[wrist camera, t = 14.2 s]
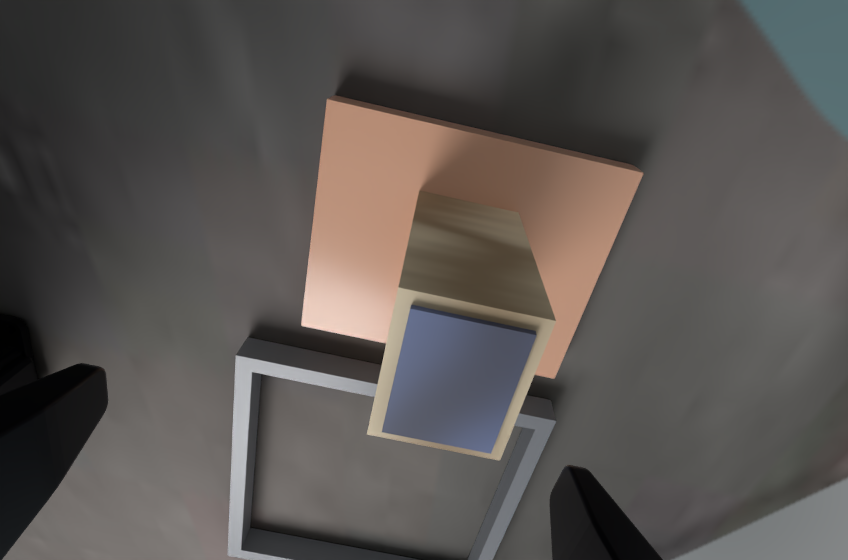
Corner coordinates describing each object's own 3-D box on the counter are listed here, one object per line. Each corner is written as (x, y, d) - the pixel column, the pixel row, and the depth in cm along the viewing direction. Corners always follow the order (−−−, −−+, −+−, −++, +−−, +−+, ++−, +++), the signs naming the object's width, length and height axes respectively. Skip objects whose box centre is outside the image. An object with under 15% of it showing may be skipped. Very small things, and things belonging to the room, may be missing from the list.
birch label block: (396, 298, 21) (365, 439, 14) (419, 190, 19) (397, 291, 12) (484, 317, 21) (500, 466, 14) (518, 212, 19) (557, 325, 12)
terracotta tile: (308, 312, 23) (301, 325, 22) (334, 95, 19) (327, 98, 18) (550, 363, 24) (554, 378, 23) (633, 164, 19) (643, 172, 18)
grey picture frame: (237, 533, 31) (227, 555, 30) (248, 337, 24) (235, 355, 23) (472, 577, 32) (473, 601, 31) (550, 399, 25) (556, 421, 24)
